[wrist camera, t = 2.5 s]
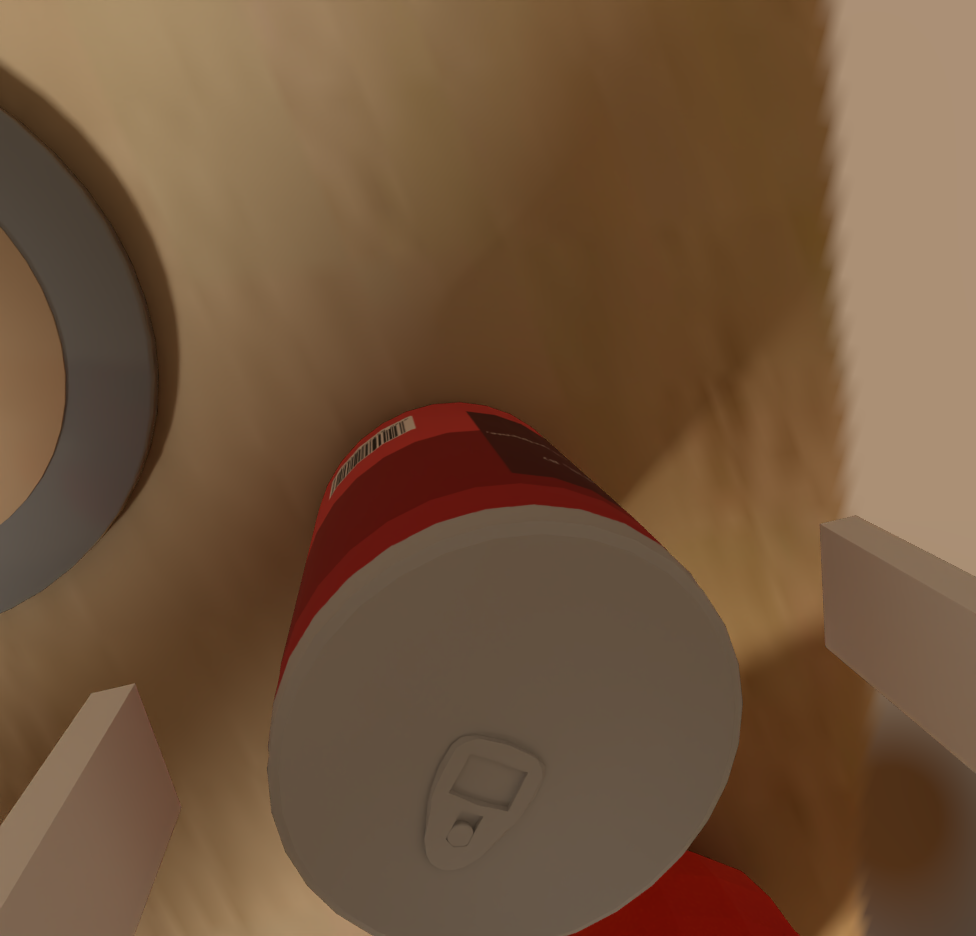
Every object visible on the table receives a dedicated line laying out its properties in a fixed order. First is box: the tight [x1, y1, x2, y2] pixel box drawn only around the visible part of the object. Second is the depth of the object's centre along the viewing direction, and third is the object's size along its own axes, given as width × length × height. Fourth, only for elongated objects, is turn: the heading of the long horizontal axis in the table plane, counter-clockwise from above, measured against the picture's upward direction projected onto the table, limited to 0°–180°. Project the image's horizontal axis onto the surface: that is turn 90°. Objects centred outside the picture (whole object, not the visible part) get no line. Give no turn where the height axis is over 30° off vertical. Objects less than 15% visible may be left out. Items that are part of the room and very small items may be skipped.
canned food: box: [267, 402, 743, 936], centre depth 16 cm, size 8×8×11 cm
